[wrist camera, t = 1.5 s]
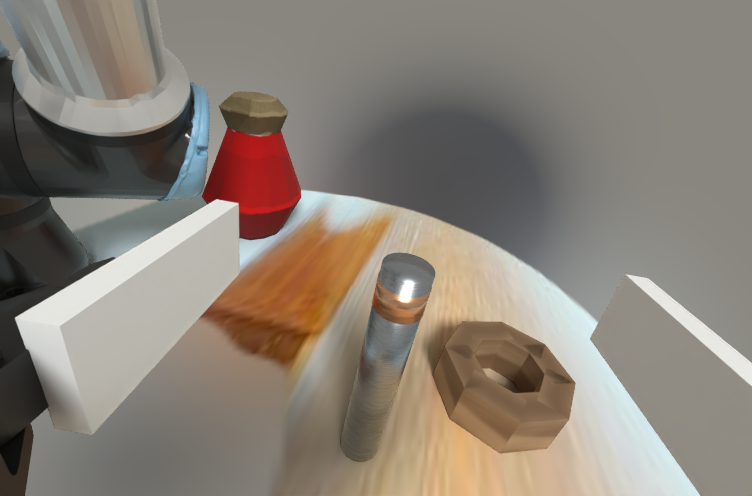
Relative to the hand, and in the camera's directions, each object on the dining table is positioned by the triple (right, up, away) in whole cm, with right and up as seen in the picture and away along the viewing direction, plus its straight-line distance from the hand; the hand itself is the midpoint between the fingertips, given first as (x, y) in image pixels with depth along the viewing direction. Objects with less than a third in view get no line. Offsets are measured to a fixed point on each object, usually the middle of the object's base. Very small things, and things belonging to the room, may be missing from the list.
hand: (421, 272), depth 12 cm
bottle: (-22, +4, +45) cm, 50 cm away
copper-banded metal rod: (-3, -16, +17) cm, 24 cm away
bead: (+11, -14, +25) cm, 30 cm away
